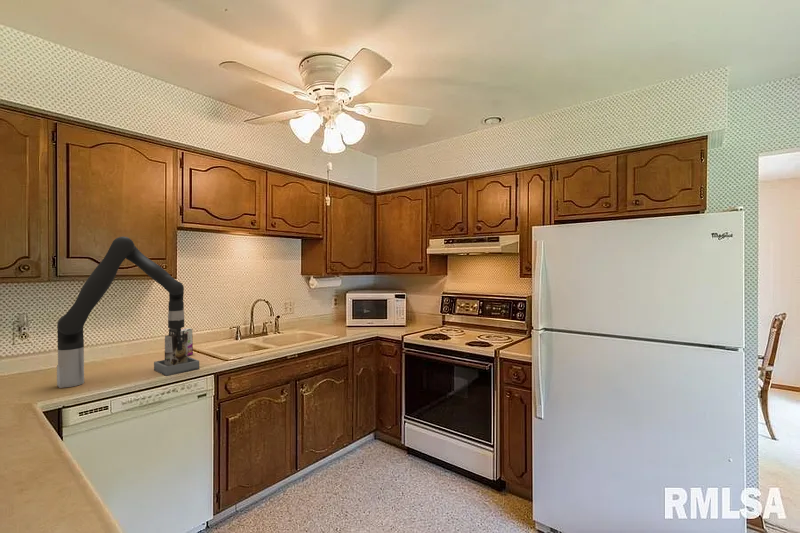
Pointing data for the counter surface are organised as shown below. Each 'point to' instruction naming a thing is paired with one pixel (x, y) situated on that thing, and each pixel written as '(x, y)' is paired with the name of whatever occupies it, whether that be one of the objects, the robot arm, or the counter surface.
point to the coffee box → (175, 350)
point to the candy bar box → (189, 340)
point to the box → (176, 367)
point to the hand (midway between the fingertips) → (176, 349)
